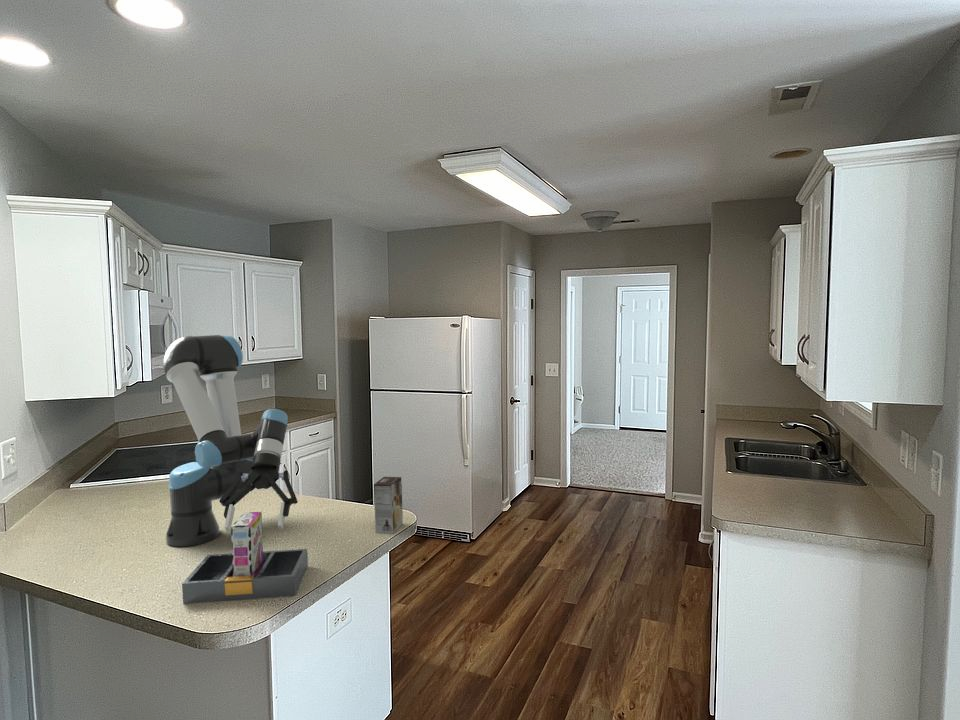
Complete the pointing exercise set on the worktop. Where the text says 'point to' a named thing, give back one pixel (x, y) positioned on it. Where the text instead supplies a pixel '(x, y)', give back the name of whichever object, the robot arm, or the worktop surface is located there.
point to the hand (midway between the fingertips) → (253, 528)
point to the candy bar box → (247, 544)
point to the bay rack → (246, 578)
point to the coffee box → (388, 504)
